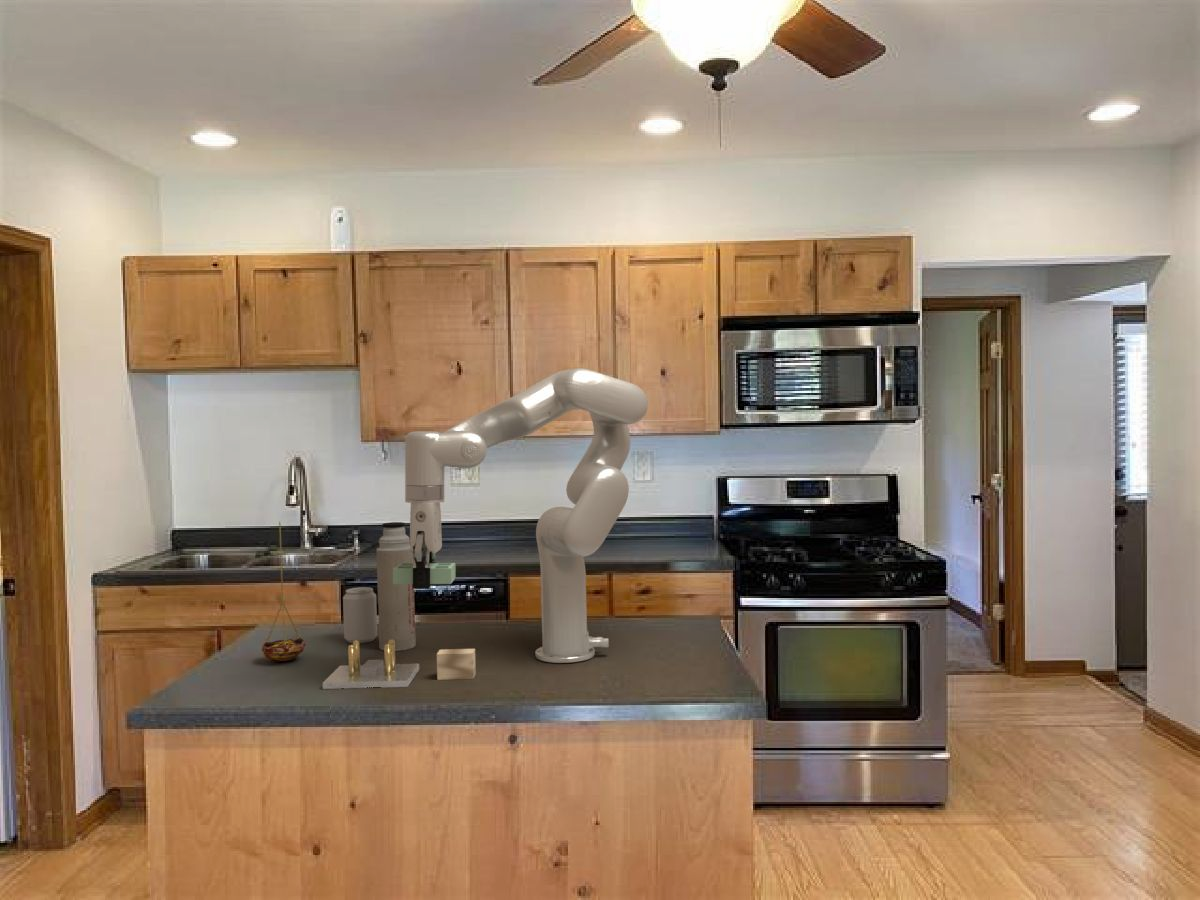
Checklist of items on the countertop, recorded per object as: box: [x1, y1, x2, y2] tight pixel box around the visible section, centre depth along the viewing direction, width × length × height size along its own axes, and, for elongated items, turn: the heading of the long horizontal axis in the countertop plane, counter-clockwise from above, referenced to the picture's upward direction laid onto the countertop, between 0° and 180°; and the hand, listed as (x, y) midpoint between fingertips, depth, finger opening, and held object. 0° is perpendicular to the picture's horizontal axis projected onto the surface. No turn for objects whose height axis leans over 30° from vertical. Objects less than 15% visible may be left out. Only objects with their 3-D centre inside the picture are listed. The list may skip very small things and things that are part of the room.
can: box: [342, 586, 378, 644], centre depth 207 cm, size 8×8×12 cm
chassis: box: [322, 639, 420, 690], centre depth 175 cm, size 16×12×7 cm
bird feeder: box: [261, 521, 307, 663], centre depth 190 cm, size 9×9×30 cm
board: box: [393, 562, 456, 585], centre depth 174 cm, size 11×7×3 cm, turn 92°
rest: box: [436, 648, 477, 681], centre depth 175 cm, size 7×4×5 cm, turn 91°
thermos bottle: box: [376, 521, 416, 652], centre depth 200 cm, size 8×8×28 cm
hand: (424, 584), depth 174 cm, fingers closed on board, 7 cm apart
